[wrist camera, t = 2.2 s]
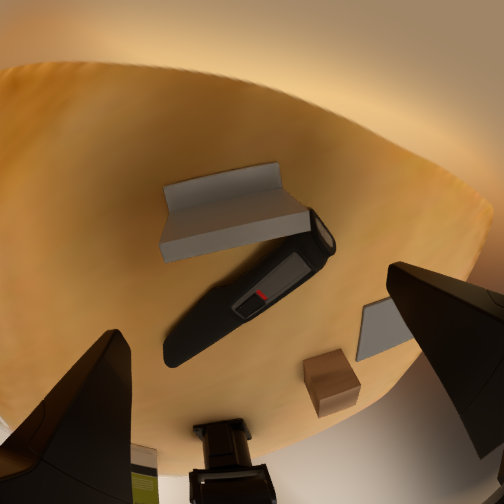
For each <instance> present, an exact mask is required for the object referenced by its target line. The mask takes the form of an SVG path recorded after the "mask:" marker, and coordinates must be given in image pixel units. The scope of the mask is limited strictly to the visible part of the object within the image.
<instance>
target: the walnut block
mask: <svg viewBox="0 0 504 504" xmlns="http://www.w3.org/2000/svg"><path fill="white" fill-rule="evenodd" d="M303 361H304V382H305V385H306V387H307V390H308V392H309V395H310V398H311V400H312V403H313V405H314V408H315V410H316V413H317V416H318V418H321V417H324V416H327V415H330V414H333V413H336V412H339V411H341V410H344V409H347V408H349V407H352V406H354V405H356V402H357V399H358V395H359V391H360V388H361V384H360V382H359V380H358V378H357V376H356V375H355V373H354V371H353V369H352V367H351V366H350V364H349V362H348V360H347V358H346V357H345V355H344V353H343V351H342V350H341V349H338V350H335V351H332V352H329V353H326V354H323V355H319V356H316V357H313V358H309V359H306V360H303Z"/></svg>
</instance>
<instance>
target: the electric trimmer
mask: <svg viewBox="0 0 504 504" xmlns="http://www.w3.org/2000/svg"><path fill="white" fill-rule="evenodd" d="M309 217H310V229H311V231H306V232H301V233H297V234H293V235H289V236H288V237H287V238H286V239H284V240H283V241H282V242H281V243H280V244H279V245H277V246H276V247H275V248H274V249H273V250H271V251H270V252H269V253H268V254H267V255H265V256H264V257H263V258H262V259H261V260H259V261H258V262H257V263H256V264H255V265H254V266H252V267H251V268H250V269H249V270H248V271H246V272H245V273H244V274H243V275H242V276H240V277H239V278H238V279H237V280H236V281H234V282H233V283H232V284H230V285H228V286H223V287H216V288H213V289H212V290H211V291H210V292H209V293H207V294H206V295H205V296H204V297H203V298H202V299H201V300H200V302H199V303H198V304H197V305H196V306H195V307H194V308H193V309H192V310H191V311H190V312H189V313H188V314H187V316H186V317H185V318H184V319H183V320H182V321H181V322H180V323H179V324H178V325H177V326H176V327H175V328H174V330H173V331H172V332H171V333H170V334H169V335H168V336H167V337H166V339H165V341H164V343H163V358H164V362H165V364H166V365H167V366H168V367H169V368H176V367H178V366H179V365H181V364H183V363H184V362H186V361H187V360H189V359H190V358H192V357H194V356H195V355H197V354H198V353H200V352H201V351H203V350H205V349H206V348H208V347H209V346H211V345H212V344H214V343H215V342H217V341H218V340H220V339H221V338H223V337H224V336H226V335H227V334H229V333H230V332H232V331H233V330H235V329H236V328H238V327H239V326H241V325H242V324H244V323H246V322H248V321H250V320H252V319H253V318H255V317H256V316H258V315H259V314H261V313H262V312H264V311H265V310H267V309H268V308H270V307H271V306H272V305H274V304H275V303H277V302H278V301H279V300H281V299H282V298H284V297H285V296H286V295H288V294H289V293H291V292H292V291H293V290H295V289H296V288H298V287H299V286H300V285H302V284H303V283H304V282H306V281H307V280H308V279H310V278H311V277H312V276H314V275H315V274H316V273H317V272H318V271H320V270H321V269H322V268H323V267H324V266H325V264H326V262H327V260H328V258H329V257H330V256H332V255H334V254H335V252H336V242H335V240H334V238H333V236H332V234H331V233H330V232H329V230H328V229H327V227H326V226H325V225H324V223H323V222H322V221H321V219H320V218H319V217H318V215H317V214H316V213H315V211H314V210H313V209H311V210H310V211H309Z"/></svg>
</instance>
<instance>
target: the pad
mask: <svg viewBox="0 0 504 504" xmlns="http://www.w3.org/2000/svg"><path fill="white" fill-rule="evenodd" d="M412 338H413V335H412V334H411V332H410V330H409V329H408V327H407V326H406V324H405V322H404V321H403V319H402V317H401V315H400V313H399V311H398V309H397V307H396V306H395V304H394V302H393V300H392V298H391V297H388V298H386V299H383V300H380V301H377V302H374V303H372V304H369V305H366V306H363V314H362V322H361V329H360V336H359V342H358V349H357V355H356V362H358V361H361V360H363V359H366V358H369V357H371V356H374V355H376V354H378V353H381V352H383V351H386V350H388V349H390V348H392V347H395V346H397V345H399V344H401V343H404V342H406V341H408V340H410V339H412Z"/></svg>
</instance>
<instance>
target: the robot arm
mask: <svg viewBox="0 0 504 504" xmlns="http://www.w3.org/2000/svg"><path fill="white" fill-rule="evenodd" d="M386 288H387V291H388V293H389V295H390V296H391V298H392V300H393V302H394V304H395V306H396V307H397V309H398V311H399V313H400V315H401V317H402V319H403V321H404V322H405V324H406V326H407V327H408V329H409V330H410V332H411V334H412V335H413V337H414V338H415V340H416V341H417V343H418V344H419V346H420V348H421V349H422V351H423V352H424V354H425V356H426V357H427V359H428V361H429V362H430V364H431V366H432V367H433V369H434V371H435V372H436V374H437V376H438V377H439V379H440V381H441V383H442V384H443V386H444V388H445V390H446V392H447V393H448V395H449V397H450V399H451V401H452V402H453V404H454V406H455V408H456V410H457V412H458V414H459V415H460V418H461V420H462V422H463V424H464V426H465V428H466V431H467V433H468V435H469V437H470V439H471V441H472V443H473V445H474V448H475V450H476V452H477V455H478V457H479V459H480V460H481V459H483V458H484V457H485V456H487V455H488V454H490V453H491V452H492V451H493V450H495V449H496V448H497V447H499V446H500V445H501V444H502V443H504V295H503V294H500V293H497V292H494V291H491V290H488V289H485V288H482V287H479V286H476V285H473V284H470V283H467V282H464V281H461V280H458V279H455V278H452V277H449V276H446V275H443V274H439V273H436V272H433V271H430V270H427V269H424V268H420V267H417V266H414V265H411V264H407V263H404V262H400V261H399V262H395V263H392V264H390V265H389V267H388V273H387V281H386ZM131 407H132V374H131V350H130V347H129V345H128V343H127V342H126V340H125V338H124V337H123V335H122V333H121V332H120V331H119V330H118V329H112V330H107V331H106V332H105V333H104V334H103V335H102V336H101V337H100V338H99V339H98V340H97V341H96V342H95V343H94V344H93V345H92V346H91V347H90V348H89V349H88V350H87V351H86V352H85V354H84V355H83V356H82V357H81V358H80V359H79V360H78V361H77V362H76V363H75V364H74V365H73V366H72V368H71V369H70V370H69V371H68V372H67V373H66V374H65V375H64V376H63V377H62V379H61V380H60V381H59V382H58V383H57V384H56V385H55V386H54V388H53V389H52V390H51V391H50V392H49V393H48V394H47V396H46V397H45V398H44V400H42V401H41V402H40V404H39V405H38V406H37V407H36V408H35V409H34V410H33V412H32V413H31V414H30V415H29V416H28V417H27V418H26V419H25V420H24V421H23V423H22V424H21V425H20V426H19V427H18V428H17V429H16V430H15V431H14V432H13V433H12V434H11V435H10V436H9V437H8V438H7V439H6V440H5V441H4V443H3V444H2V445H0V504H133V493H132V476H131ZM193 431H194V432H195V433H196V435H197V436H198V437H199V438H200V439H201V440H202V442H203V453H204V463H205V469H193V471H192V472H189V482H190V503H191V504H277V500H276V493H275V490H274V487H273V484H272V481H271V478H270V475H269V472H268V469H267V466H266V464H261V465H256V466H252V463H251V458H250V453H249V448H248V443H247V440H251V439H252V437H251V434H250V432H249V430H248V428H247V426H246V424H245V422H244V420H242V419H239V420H234V421H228V422H222V423H215V424H208V425H201V426H194V427H193ZM497 479H498V481H499V483H500V485H501V487H500V488H498V489H497V490H496V491H495V492H494V493H493V494H492V495H491V496H490V497H489V498H488V499H487V500H486V501H485V502H483V503H482V504H504V450H503V455H502V460H501V464H500V469H499V473H498V478H497ZM201 482H205V484H201Z"/></svg>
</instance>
